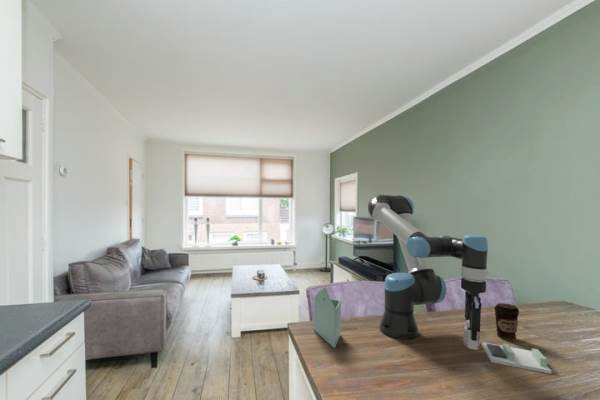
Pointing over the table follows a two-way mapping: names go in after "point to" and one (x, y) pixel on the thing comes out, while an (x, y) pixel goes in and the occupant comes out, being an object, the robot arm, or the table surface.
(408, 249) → the robot arm
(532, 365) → the dock
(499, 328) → the coffee cup
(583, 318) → the table surface
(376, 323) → the table surface
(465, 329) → the pill bottle
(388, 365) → the table surface
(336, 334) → the green magazine holder
